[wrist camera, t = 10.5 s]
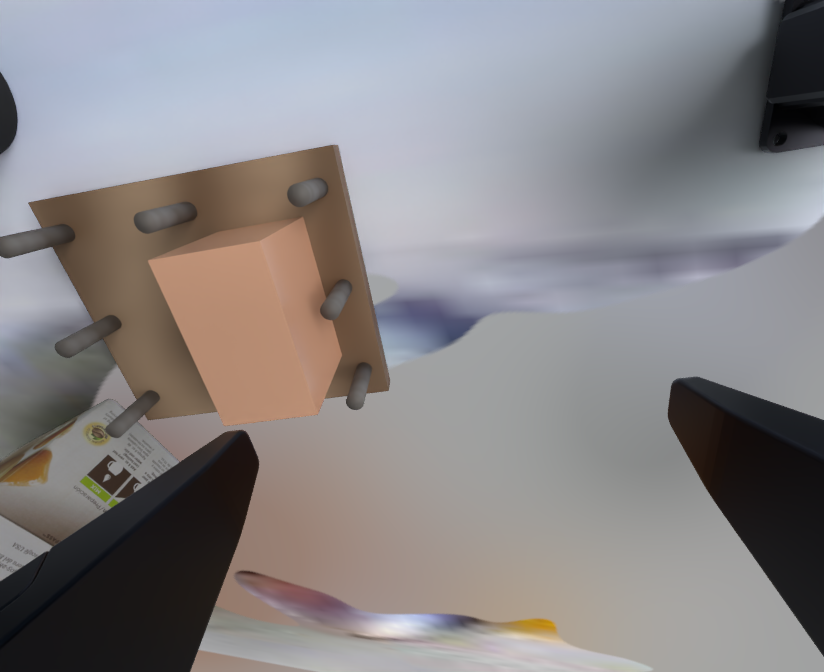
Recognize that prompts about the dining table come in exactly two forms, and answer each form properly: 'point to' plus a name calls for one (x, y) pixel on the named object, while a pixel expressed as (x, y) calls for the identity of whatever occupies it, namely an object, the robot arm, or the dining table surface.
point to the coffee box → (71, 481)
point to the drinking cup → (6, 115)
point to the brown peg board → (185, 223)
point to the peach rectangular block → (253, 319)
